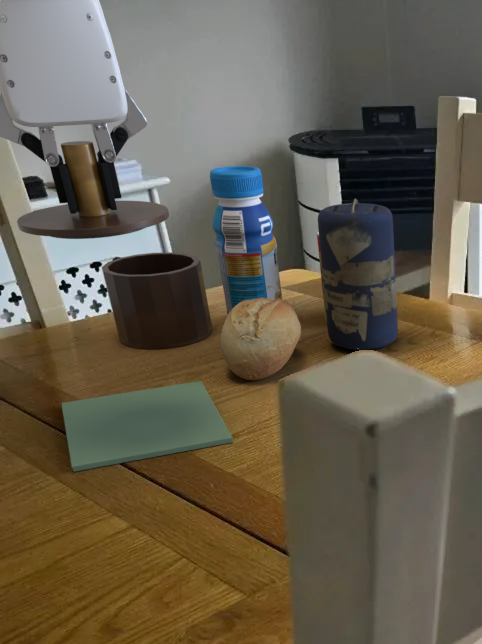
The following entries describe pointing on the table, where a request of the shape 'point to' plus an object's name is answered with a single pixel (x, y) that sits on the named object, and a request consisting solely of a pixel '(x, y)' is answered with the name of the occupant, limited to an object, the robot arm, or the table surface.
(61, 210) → the lid
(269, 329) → the bread roll
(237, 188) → the beverage bottle
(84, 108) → the robot arm
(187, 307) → the basket
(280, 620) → the table surface
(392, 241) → the blue pillar candle
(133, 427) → the mat
